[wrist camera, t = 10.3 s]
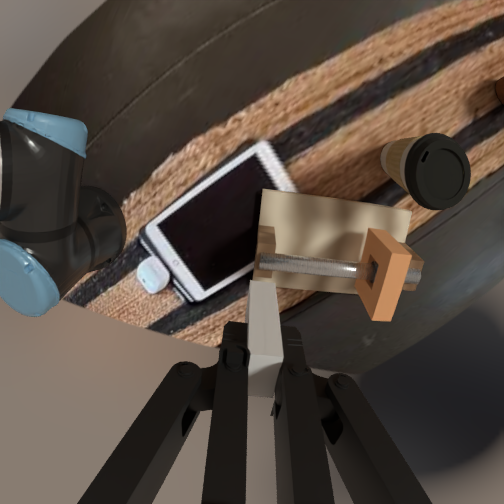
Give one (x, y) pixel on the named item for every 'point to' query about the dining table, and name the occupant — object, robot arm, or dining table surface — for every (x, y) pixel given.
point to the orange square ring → (383, 274)
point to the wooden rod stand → (323, 235)
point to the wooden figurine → (500, 89)
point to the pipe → (327, 267)
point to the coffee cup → (428, 169)
